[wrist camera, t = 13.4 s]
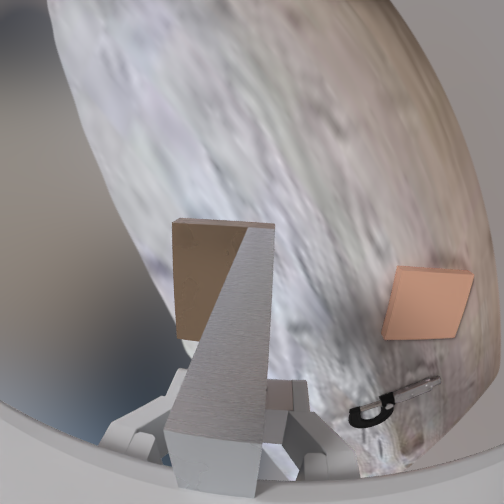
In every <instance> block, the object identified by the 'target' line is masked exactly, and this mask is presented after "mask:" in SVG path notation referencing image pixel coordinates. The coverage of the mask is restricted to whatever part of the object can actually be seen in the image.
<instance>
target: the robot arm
mask: <svg viewBox="0 0 504 504" xmlns="http://www.w3.org/2000/svg"><path fill="white" fill-rule="evenodd" d="M187 370H188V369H183V368H179V369H178V370H177V372H176V374H175V376H174V379H173V381H172V383H171V385H170V388H169V390H168V392H167V394H166V396H165V397H164V396H160V397H159V398H157V399H155V400H153V401H151V402H150V403H148V404H146V405H144V406H142V407H140V408H139V409H137V410H135V411H133V412H131V413H129V414H127V415H125V416H123V417H121V418H119V419H117V420H115V421H113V422H112V423H111V424H110V426H109V428H108V429H107V431H106V433H105V435H104V436H103V438H102V440H101V442H100V443H99V445H98V446H97V445H94V444H91V443H88V442H86V441H83V440H81V439H78V438H76V437H73V436H71V435H68V434H66V433H64V432H61V431H59V430H57V429H55V428H53V427H50V426H48V425H46V424H44V423H42V422H40V421H38V420H36V419H33V418H32V417H30V416H28V415H26V414H24V413H22V412H20V411H19V410H16V409H15V408H13V407H11V406H10V405H8V404H6V403H4V402H3V401H1V400H0V504H504V444H502V445H499V446H496V447H494V448H491V449H488V450H486V451H483V452H480V453H477V454H474V455H470V456H467V457H464V458H461V459H457V460H454V461H450V462H446V463H443V464H439V465H435V466H430V467H426V468H422V469H417V470H412V471H406V472H401V473H395V474H388V475H382V476H374V477H365V478H360V473H359V467H358V462H357V457H356V452H355V450H354V449H353V448H352V447H351V446H350V445H348V444H347V443H346V442H345V441H344V440H343V439H342V438H341V437H340V436H339V435H338V434H337V433H336V432H334V431H333V430H332V429H331V428H330V427H329V426H328V425H327V424H326V423H325V422H324V421H323V420H322V419H321V418H320V417H319V416H318V415H317V414H316V413H315V412H310V406H309V396H308V387H307V381H306V380H280V379H267V387H266V402H265V416H264V429H263V442H262V443H273V444H282V446H283V448H284V449H285V450H286V452H287V453H288V455H289V456H290V458H291V459H292V460H293V462H294V463H295V465H296V466H297V467H298V469H299V473H298V476H297V478H296V481H276V480H258V479H257V484H256V490H255V497H254V498H245V497H235V496H226V495H219V494H212V493H206V492H200V491H194V490H189V489H184V488H179V487H178V484H177V480H176V477H175V474H174V470H173V467H169V466H164V465H163V463H162V460H161V458H162V457H164V456H165V455H166V454H167V453H169V452H168V448H167V444H166V440H165V435H164V431H163V429H164V426H165V424H166V421H167V419H168V417H169V414H170V412H171V409H172V407H173V404H174V402H175V399H176V397H177V395H178V392H179V390H180V387H181V385H182V382H183V380H184V378H185V375H186V373H187Z"/></svg>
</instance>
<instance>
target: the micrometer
mask: <svg viewBox="0 0 504 504" xmlns="http://www.w3.org/2000/svg"><path fill="white" fill-rule="evenodd" d="M437 384H441V378H440V376H437V377H436V378H433V379H431V380H430V379H429V378H426V379H424V380H422V381H419V382H417V383H414V384H412V385H409V386H406V387H404V388H402V389H399V390H396V391H395V392H394V393H392V392H391V393H388V394H385V395H382V396H379V399H380V400H379V401H376V402H373V403H370V404H367V405H364V406H361V407H360V406H359V407H356V408H352V409H349V410H350V411H349V413H350V415H349V423H350V425H351V426H353V427H355V428H368V427H372V426H375V425H378V424H380V423H382V422H383V421H385V420H386V419H387V418H388V417H389V416H390V415H391V414H392V412H393V405H395V403H400V402H403V401H405V400H408V399H411V398H414V397H416V396H418V395H421V394H423V393H425V392H429V391H431V390H432V387H433V386H435V385H437ZM380 405H381V413H380V414H379V415H378V416H376V417H375V418H372V419H368V420H365V419H362V418H361V416H360V413H361V412H362V411H365V410H368V409H371V408H374V407H377V406H380Z"/></svg>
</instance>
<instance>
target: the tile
mask: <svg viewBox="0 0 504 504" xmlns="http://www.w3.org/2000/svg"><path fill="white" fill-rule="evenodd" d="M473 279H474V274H472V273H471V272H470V271H468V270H453V269H439V268H424V267H410V266H397V269H396V274H395V279H394V283H393V288H392V292H391V296H390V300H389V305H388V309H387V313H386V316H385V320H384V324H383V328H382V331H381V334H382V336H383V338H384V340H414V339H441V338H455V335H456V332H457V330H458V327H459V324H460V321H461V318H462V315H463V312H464V309H465V306H466V303H467V300H468V296H469V293H470V289H471V286H472V282H473Z"/></svg>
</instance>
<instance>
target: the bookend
mask: <svg viewBox="0 0 504 504" xmlns="http://www.w3.org/2000/svg"><path fill="white" fill-rule="evenodd" d="M274 238H275V224H272V223H258V222H243V221H227V220H210V219H192V218H179V219H177V220H176V221H174V222H172V249H173V279H174V299H175V315H176V329H177V338H178V339H184V340H192V341H199V344H198V346H197V349H196V351H195V353H194V356H193V358H192V361H191V363H190V365H189V368H188V370H187V373H186V375H185V378H184V380H183V382H182V385H181V387H180V390H179V392H178V395H177V397H176V399H175V402H174V404H173V407H172V409H171V412H170V414H169V417H168V419H167V421H166V424H165V426H164V429H163V431H164V435H165V440H166V444H167V448H168V452H169V455H170V459H171V462H172V466H173V470H174V474H175V477H176V480H177V484H178V487H179V488H184V489H189V490H194V491H200V492H206V493H212V494H219V495H226V496H235V497H245V498H254V497H255V490H256V484H257V477H258V471H259V464H260V456H261V450H262V442H263V429H264V416H265V402H266V387H267V372H268V356H269V339H270V322H271V303H272V283H273V262H274Z"/></svg>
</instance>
